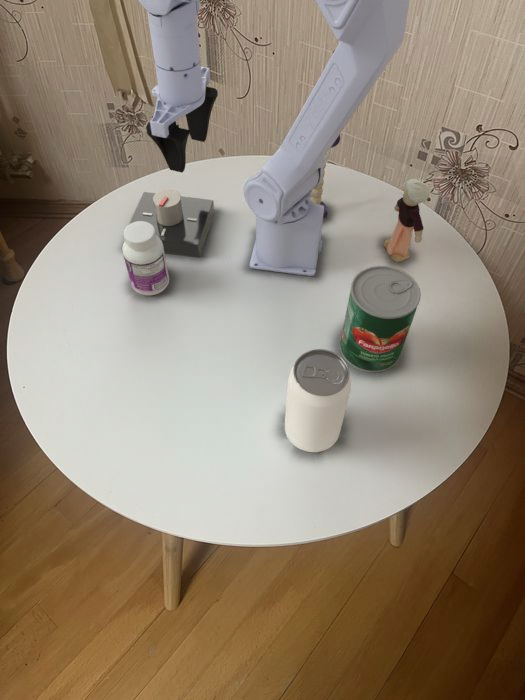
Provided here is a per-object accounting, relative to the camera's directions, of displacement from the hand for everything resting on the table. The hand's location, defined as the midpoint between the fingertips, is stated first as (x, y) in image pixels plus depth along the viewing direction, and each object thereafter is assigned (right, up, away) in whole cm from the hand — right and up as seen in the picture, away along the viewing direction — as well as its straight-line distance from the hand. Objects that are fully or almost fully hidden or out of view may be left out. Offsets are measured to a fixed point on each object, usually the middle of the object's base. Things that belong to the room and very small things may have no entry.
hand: (188, 154), depth 82 cm
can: (+17, -38, -15) cm, 44 cm away
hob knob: (-3, -9, +2) cm, 9 cm away
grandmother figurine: (+31, -14, +2) cm, 34 cm away
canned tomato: (+25, -28, -8) cm, 38 cm away
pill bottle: (-5, -19, -2) cm, 20 cm away
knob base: (-3, -10, +4) cm, 11 cm away
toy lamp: (+19, -7, +7) cm, 21 cm away
